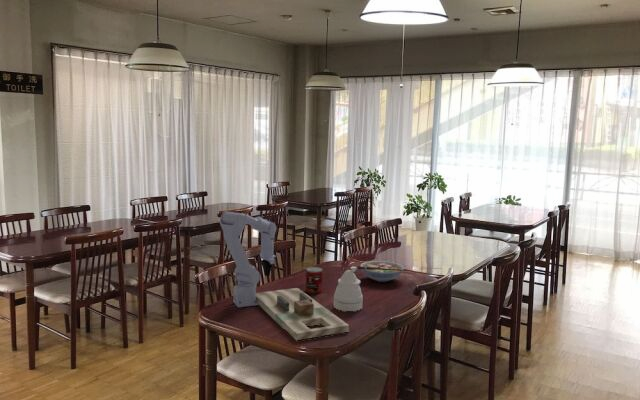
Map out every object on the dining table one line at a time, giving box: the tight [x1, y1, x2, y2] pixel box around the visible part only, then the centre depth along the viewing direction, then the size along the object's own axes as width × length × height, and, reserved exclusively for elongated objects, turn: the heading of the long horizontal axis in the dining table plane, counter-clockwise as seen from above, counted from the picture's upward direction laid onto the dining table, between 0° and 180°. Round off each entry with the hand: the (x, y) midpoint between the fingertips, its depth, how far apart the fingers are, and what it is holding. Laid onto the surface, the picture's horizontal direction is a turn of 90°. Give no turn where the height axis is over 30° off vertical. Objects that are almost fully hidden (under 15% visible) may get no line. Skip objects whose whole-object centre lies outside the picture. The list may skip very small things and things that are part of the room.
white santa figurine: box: [333, 266, 364, 312], centre depth 229 cm, size 13×13×18 cm
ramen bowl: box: [357, 260, 408, 283], centre depth 271 cm, size 25×23×8 cm
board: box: [256, 287, 350, 342], centre depth 218 cm, size 22×50×6 cm, turn 26°
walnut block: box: [294, 299, 314, 317], centre depth 212 cm, size 6×6×4 cm
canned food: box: [305, 266, 323, 294], centre depth 249 cm, size 8×8×11 cm
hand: (267, 275), depth 242 cm, fingers closed
